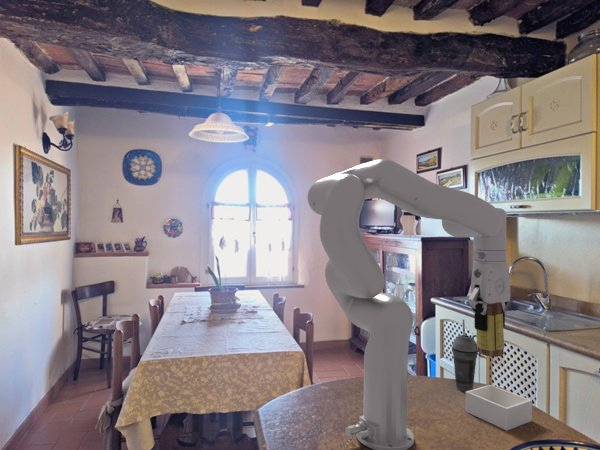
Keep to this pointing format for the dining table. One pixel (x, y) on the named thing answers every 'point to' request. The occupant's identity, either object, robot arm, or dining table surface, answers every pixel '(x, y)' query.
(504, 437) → the dining table surface
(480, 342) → the sauce bottle
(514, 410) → the box
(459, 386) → the beverage cup
